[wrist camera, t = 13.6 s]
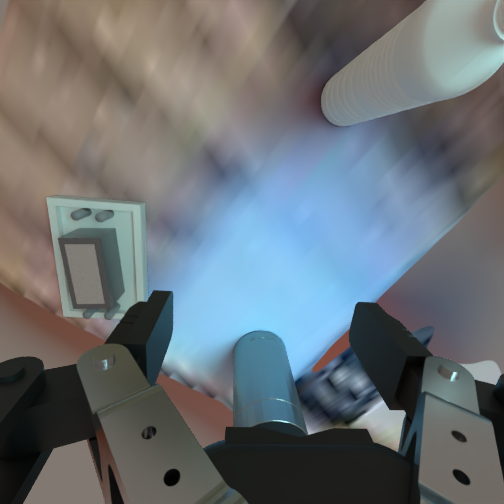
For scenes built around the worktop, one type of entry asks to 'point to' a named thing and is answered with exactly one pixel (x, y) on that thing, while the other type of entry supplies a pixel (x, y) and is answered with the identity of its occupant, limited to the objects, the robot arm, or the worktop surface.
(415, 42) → the water bottle
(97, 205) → the tray
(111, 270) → the block
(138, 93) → the worktop surface
